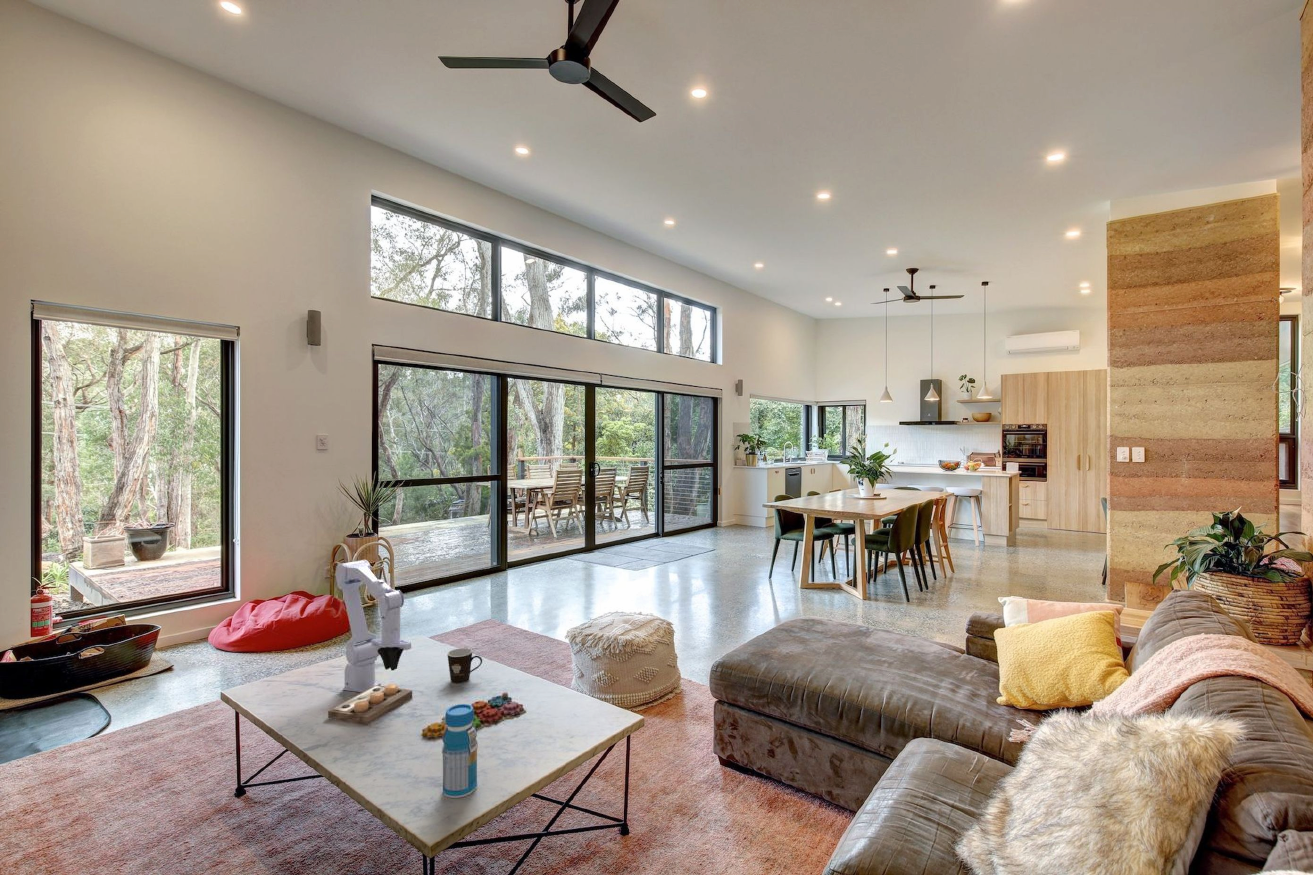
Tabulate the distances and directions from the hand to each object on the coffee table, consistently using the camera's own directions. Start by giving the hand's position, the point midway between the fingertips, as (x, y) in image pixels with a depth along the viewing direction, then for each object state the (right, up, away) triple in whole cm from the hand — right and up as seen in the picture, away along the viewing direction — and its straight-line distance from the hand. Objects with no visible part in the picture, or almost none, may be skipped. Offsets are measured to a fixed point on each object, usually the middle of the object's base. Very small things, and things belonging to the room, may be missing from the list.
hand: (391, 668), depth 199 cm
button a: (-4, -8, -12) cm, 15 cm away
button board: (-4, -10, -6) cm, 12 cm away
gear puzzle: (+31, -11, -14) cm, 35 cm away
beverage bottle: (+39, -11, -50) cm, 65 cm away
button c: (0, -8, 0) cm, 8 cm away
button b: (-2, -8, -6) cm, 10 cm away
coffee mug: (+19, -11, +16) cm, 27 cm away
